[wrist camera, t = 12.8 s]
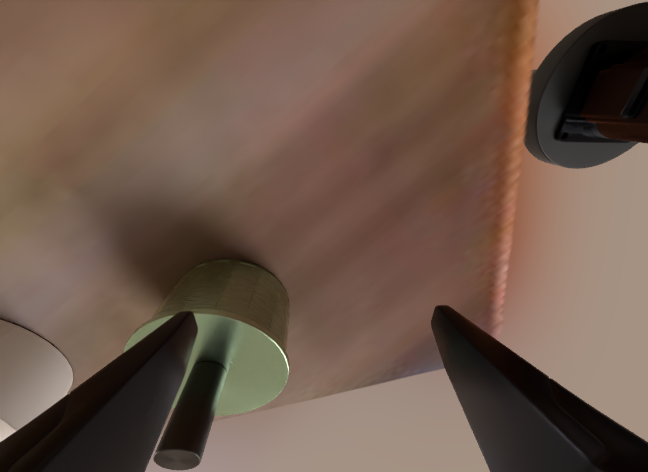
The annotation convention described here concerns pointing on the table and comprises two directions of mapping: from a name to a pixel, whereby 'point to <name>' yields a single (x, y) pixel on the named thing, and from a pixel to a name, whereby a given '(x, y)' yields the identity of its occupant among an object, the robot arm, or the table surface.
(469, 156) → the table surface
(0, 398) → the bowl
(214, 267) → the canister
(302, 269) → the table surface
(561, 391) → the robot arm
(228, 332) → the lid
